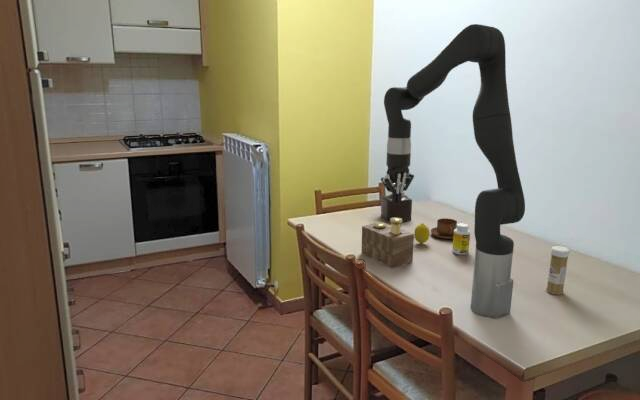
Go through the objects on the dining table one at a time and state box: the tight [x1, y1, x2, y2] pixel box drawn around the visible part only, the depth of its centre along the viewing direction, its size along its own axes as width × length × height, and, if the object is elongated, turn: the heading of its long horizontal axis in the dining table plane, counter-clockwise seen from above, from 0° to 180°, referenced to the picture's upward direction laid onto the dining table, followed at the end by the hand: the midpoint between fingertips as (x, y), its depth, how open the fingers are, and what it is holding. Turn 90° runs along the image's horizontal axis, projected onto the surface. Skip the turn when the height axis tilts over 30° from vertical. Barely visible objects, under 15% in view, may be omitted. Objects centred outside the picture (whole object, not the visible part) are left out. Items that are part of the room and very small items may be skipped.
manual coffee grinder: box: [380, 191, 413, 223], centre depth 214 cm, size 16×11×18 cm
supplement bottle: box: [452, 222, 471, 256], centre depth 172 cm, size 6×6×10 cm
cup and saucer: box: [430, 217, 458, 240], centre depth 190 cm, size 12×12×6 cm
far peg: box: [373, 222, 387, 229], centre depth 170 cm, size 4×4×10 cm
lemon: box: [413, 223, 431, 245], centre depth 181 cm, size 6×6×8 cm
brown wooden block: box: [361, 221, 415, 269], centre depth 167 cm, size 16×9×10 cm, turn 35°
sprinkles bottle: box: [546, 245, 570, 295], centre depth 141 cm, size 5×5×13 cm
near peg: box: [389, 218, 403, 235], centre depth 163 cm, size 4×4×10 cm
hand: (396, 204), depth 160 cm, fingers closed
